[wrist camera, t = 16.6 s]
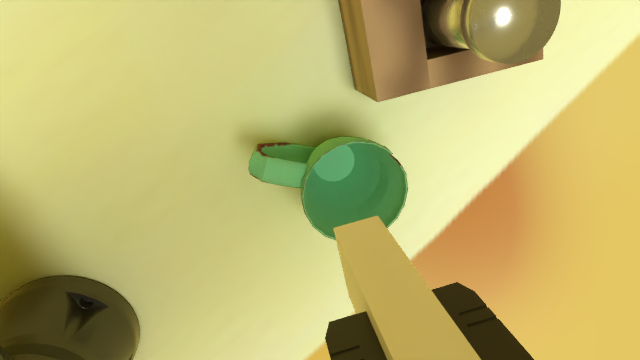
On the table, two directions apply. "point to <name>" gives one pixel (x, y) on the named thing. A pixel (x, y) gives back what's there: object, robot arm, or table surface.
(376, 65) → the brown wooden block
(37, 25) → the table surface
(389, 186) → the mug
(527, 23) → the plunger
